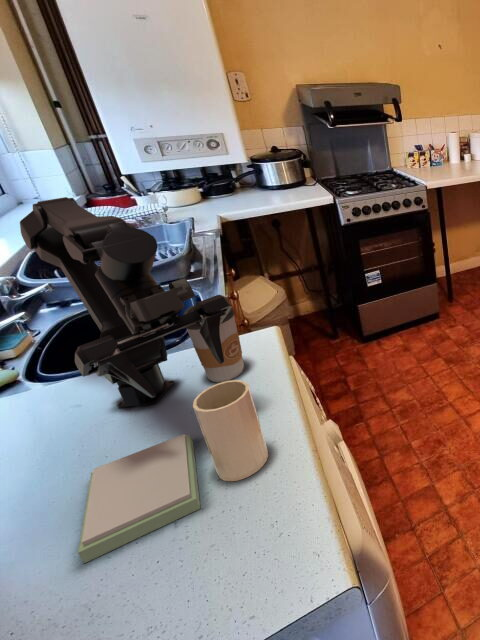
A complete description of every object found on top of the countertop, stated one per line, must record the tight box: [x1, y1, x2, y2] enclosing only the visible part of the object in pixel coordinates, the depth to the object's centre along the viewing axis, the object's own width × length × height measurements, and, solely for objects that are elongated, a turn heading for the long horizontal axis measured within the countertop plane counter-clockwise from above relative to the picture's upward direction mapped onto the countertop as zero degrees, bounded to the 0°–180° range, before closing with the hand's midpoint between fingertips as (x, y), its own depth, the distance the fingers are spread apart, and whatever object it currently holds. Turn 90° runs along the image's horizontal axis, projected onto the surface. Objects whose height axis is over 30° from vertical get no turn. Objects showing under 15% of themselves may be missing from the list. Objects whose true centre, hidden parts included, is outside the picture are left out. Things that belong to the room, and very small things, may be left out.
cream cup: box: [192, 379, 269, 482], centre depth 65 cm, size 7×7×13 cm
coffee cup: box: [183, 304, 245, 383], centre depth 86 cm, size 8×8×15 cm
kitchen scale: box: [77, 433, 201, 564], centre depth 62 cm, size 15×12×3 cm
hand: (190, 378), depth 65 cm, fingers open, 9 cm apart
